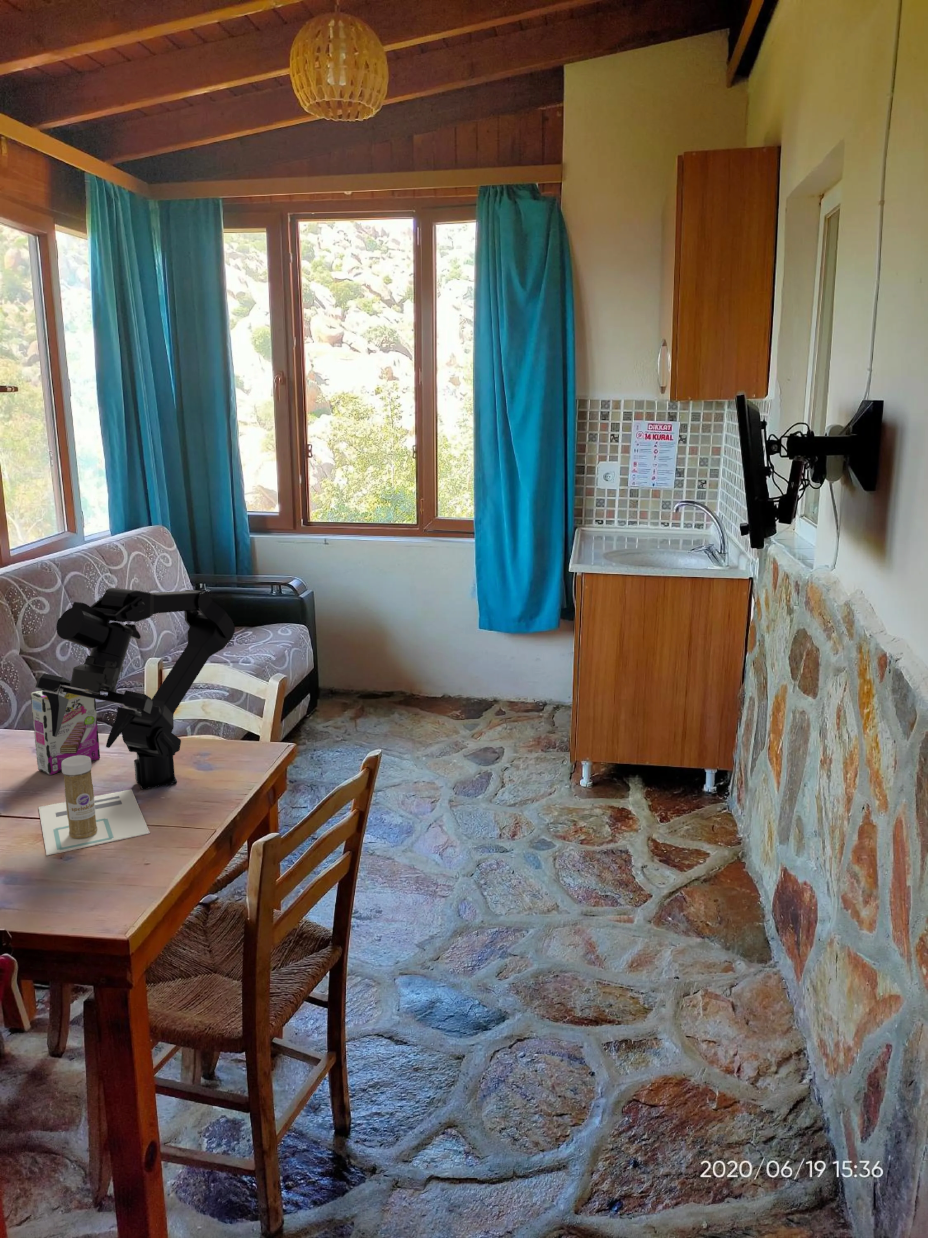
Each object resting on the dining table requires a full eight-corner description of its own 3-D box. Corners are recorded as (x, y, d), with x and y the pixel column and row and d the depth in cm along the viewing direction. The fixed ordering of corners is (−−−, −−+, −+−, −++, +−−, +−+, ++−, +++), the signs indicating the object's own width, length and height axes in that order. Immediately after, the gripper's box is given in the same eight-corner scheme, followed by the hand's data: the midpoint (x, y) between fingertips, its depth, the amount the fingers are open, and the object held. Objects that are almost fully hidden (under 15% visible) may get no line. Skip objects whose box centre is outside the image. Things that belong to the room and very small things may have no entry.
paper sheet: (131, 790, 165) (131, 789, 165) (149, 833, 148) (149, 832, 148) (38, 807, 158) (38, 806, 158) (46, 855, 141) (46, 854, 141)
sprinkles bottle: (79, 842, 145) (71, 766, 142) (63, 835, 147) (55, 760, 144) (103, 831, 148) (96, 758, 145) (88, 824, 151) (80, 752, 148)
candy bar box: (50, 776, 171) (41, 697, 168) (37, 770, 174) (28, 692, 170) (102, 759, 180) (95, 683, 176) (88, 753, 183) (81, 679, 179)
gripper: (39, 634, 146) (8, 725, 142) (149, 658, 148) (123, 748, 144) (60, 648, 157) (33, 733, 153) (163, 670, 158) (139, 754, 154)
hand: (81, 742), depth 151 cm, fingers open, 9 cm apart
